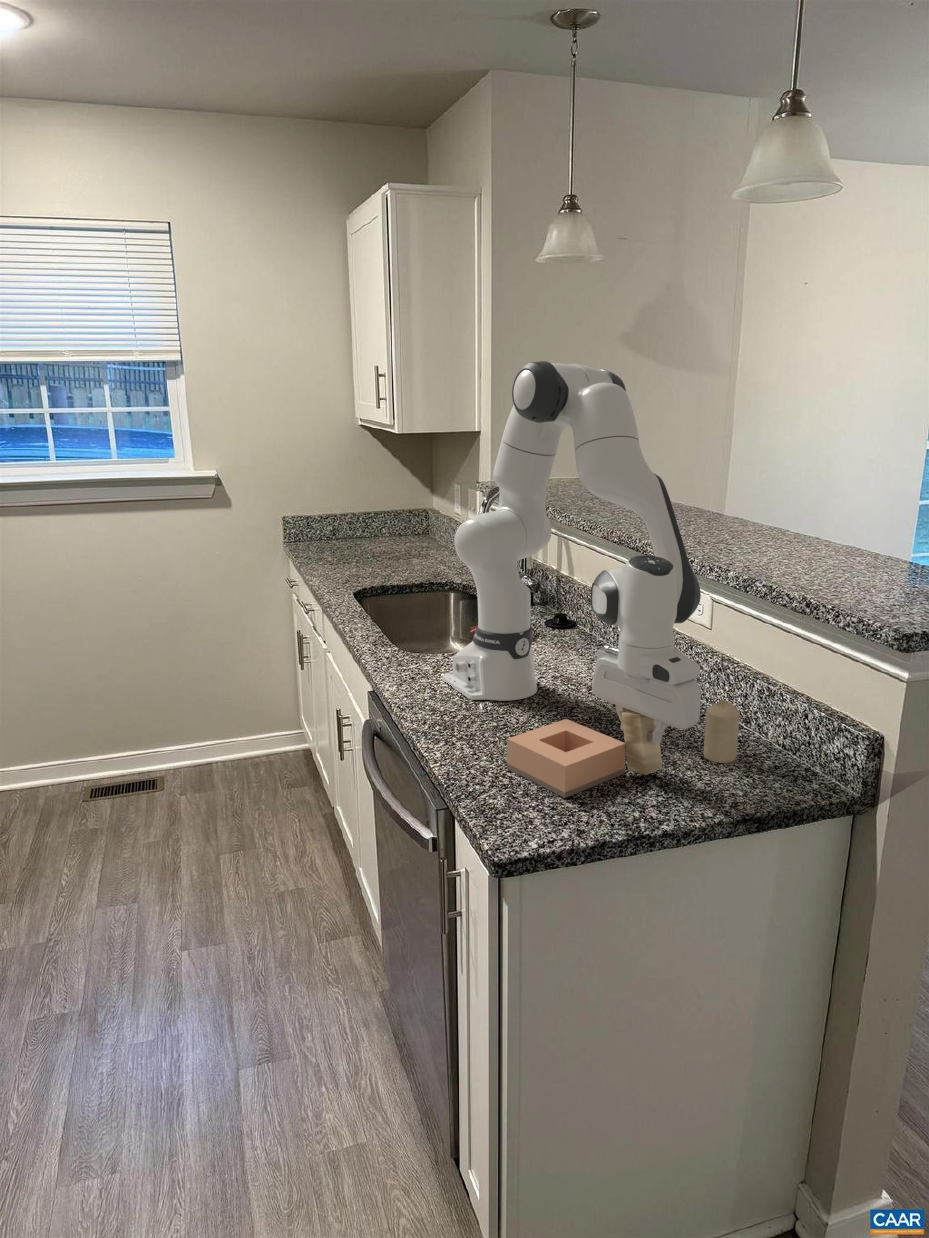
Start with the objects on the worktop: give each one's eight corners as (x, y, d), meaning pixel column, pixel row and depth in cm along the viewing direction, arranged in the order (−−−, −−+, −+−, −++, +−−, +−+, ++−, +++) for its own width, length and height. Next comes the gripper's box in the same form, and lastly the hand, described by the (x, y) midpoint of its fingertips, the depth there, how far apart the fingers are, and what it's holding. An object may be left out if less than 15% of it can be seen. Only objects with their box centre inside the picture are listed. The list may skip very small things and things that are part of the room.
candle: (705, 762, 145) (709, 708, 143) (701, 749, 150) (705, 697, 148) (738, 764, 144) (742, 710, 142) (733, 751, 150) (737, 698, 147)
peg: (628, 771, 140) (621, 712, 139) (644, 764, 143) (637, 707, 141) (646, 774, 137) (639, 715, 136) (662, 768, 139) (656, 709, 138)
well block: (507, 768, 144) (507, 738, 142) (565, 747, 152) (566, 718, 151) (564, 798, 133) (565, 766, 132) (624, 773, 141) (625, 743, 140)
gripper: (585, 645, 142) (582, 721, 145) (683, 678, 126) (677, 762, 130) (611, 639, 145) (607, 713, 149) (709, 669, 130) (702, 751, 133)
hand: (640, 736), depth 139 cm, fingers closed on peg, 4 cm apart
